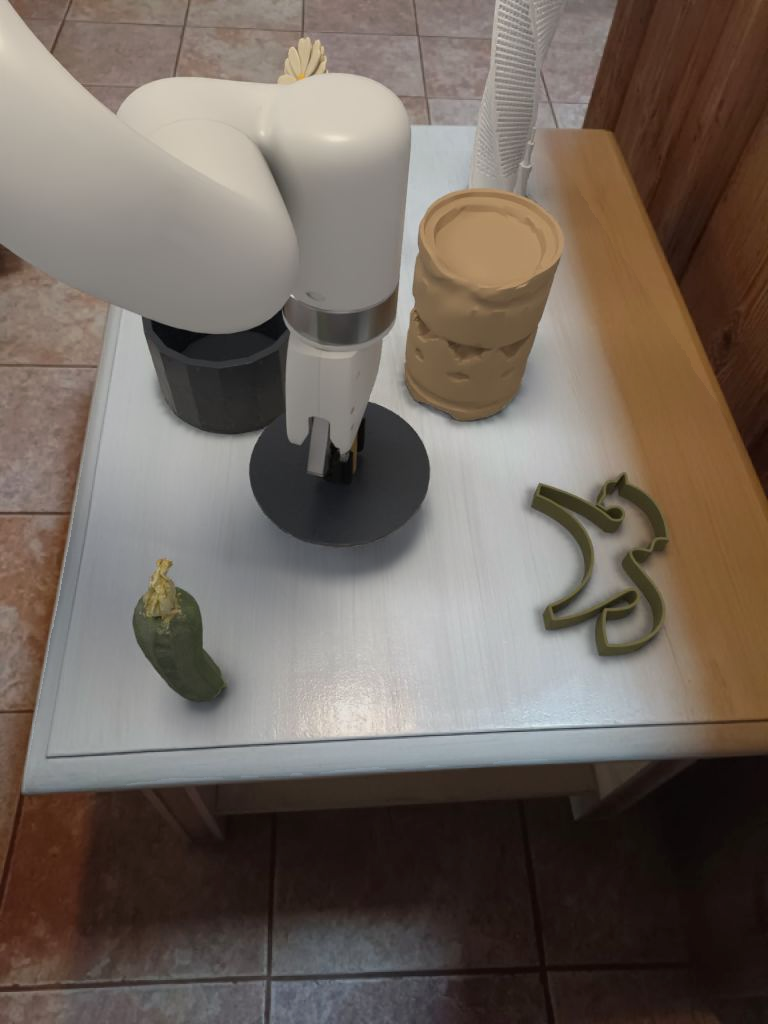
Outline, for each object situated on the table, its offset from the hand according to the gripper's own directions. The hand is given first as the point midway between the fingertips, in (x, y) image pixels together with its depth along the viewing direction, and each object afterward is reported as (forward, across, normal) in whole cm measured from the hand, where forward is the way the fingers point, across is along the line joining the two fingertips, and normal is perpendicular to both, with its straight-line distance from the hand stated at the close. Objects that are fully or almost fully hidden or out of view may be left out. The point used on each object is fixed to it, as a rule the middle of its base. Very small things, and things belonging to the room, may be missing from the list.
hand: (339, 460), depth 62 cm
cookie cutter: (+8, -1, +25) cm, 26 cm away
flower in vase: (+8, -33, -12) cm, 36 cm away
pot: (+7, -12, -15) cm, 21 cm away
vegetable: (+7, +20, -6) cm, 22 cm away
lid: (+1, 0, 0) cm, 1 cm away
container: (+8, -20, +8) cm, 22 cm away
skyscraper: (+8, -50, +6) cm, 51 cm away
